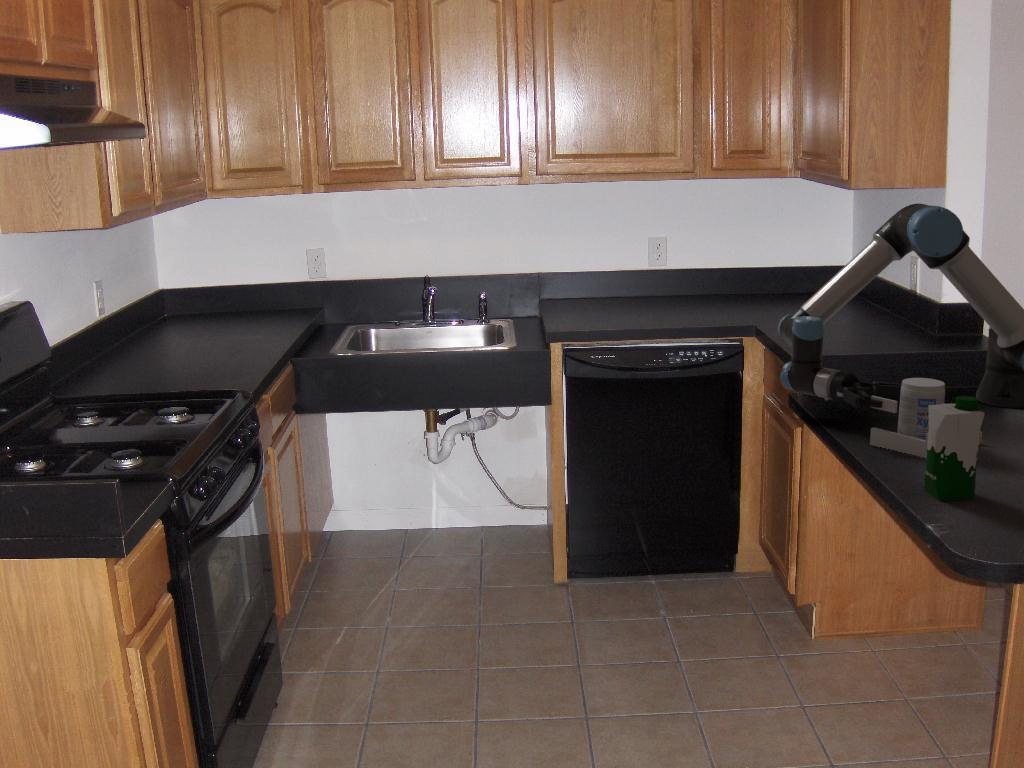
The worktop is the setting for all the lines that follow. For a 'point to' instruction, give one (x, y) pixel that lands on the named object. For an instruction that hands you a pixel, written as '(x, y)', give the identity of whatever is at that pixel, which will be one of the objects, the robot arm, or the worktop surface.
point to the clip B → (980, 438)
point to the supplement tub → (918, 405)
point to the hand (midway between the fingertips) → (914, 402)
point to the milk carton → (953, 449)
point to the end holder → (899, 442)
